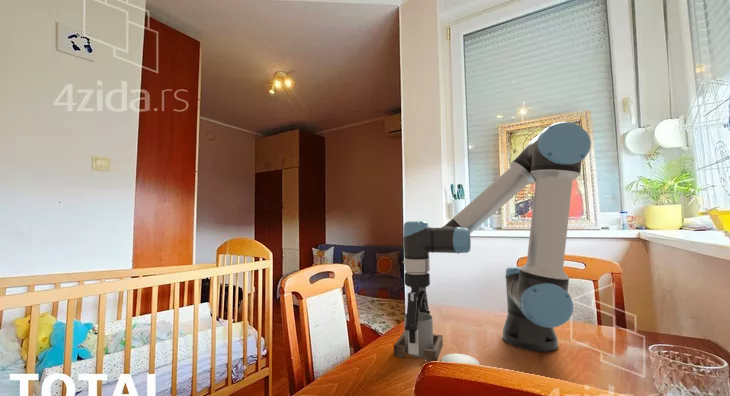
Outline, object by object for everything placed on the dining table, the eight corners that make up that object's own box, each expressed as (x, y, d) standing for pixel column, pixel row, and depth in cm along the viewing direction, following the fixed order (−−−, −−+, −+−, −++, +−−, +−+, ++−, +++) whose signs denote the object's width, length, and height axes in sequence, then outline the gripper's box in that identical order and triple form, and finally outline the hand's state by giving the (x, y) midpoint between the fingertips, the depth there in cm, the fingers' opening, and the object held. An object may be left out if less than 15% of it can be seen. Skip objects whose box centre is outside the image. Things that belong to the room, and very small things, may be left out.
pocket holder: (442, 345, 92) (442, 335, 92) (436, 363, 81) (436, 351, 81) (405, 339, 97) (404, 330, 97) (394, 356, 86) (393, 345, 86)
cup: (433, 358, 84) (432, 322, 85) (404, 356, 86) (403, 320, 86) (433, 345, 92) (431, 312, 93) (406, 343, 94) (405, 311, 95)
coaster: (480, 358, 83) (480, 356, 83) (479, 376, 74) (479, 374, 74) (443, 352, 87) (443, 351, 87) (438, 369, 78) (438, 367, 78)
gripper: (414, 265, 103) (415, 327, 102) (392, 279, 80) (394, 360, 79) (436, 266, 100) (438, 330, 99) (420, 281, 77) (422, 365, 76)
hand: (418, 344), depth 89 cm, fingers open, 13 cm apart
